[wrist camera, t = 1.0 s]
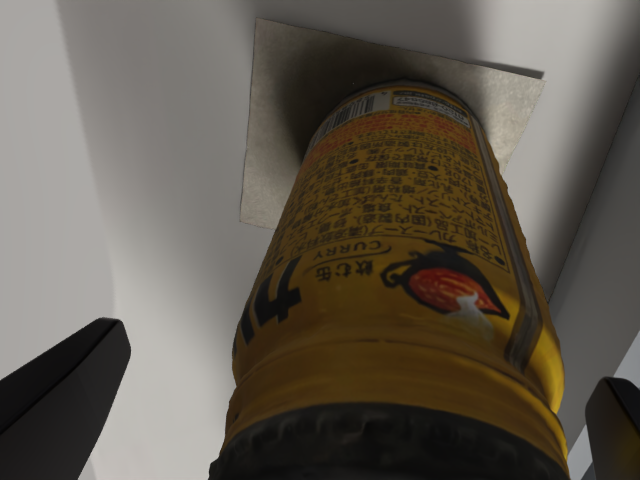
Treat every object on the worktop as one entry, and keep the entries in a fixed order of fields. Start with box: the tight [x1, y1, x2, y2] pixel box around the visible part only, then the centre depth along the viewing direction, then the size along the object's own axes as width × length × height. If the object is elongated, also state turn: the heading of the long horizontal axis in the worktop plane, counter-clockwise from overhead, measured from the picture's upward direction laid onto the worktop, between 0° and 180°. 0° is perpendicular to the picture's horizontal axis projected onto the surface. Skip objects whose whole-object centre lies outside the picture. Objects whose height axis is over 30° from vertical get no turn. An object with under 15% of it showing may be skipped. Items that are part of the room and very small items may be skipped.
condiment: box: [208, 18, 571, 480], centre depth 11 cm, size 7×8×12 cm
